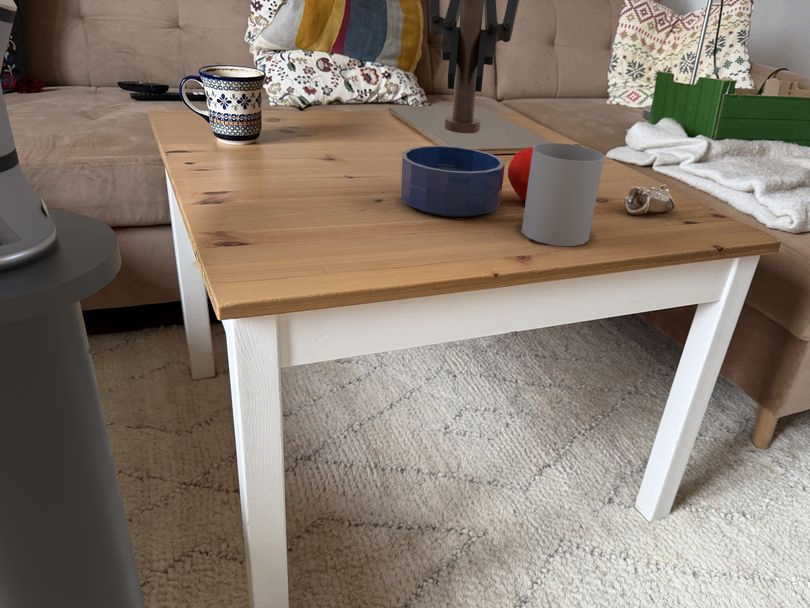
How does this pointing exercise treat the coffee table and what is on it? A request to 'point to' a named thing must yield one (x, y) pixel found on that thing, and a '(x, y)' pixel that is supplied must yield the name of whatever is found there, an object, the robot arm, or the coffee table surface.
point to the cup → (561, 193)
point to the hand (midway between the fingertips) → (464, 82)
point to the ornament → (648, 200)
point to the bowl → (451, 180)
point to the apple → (520, 172)
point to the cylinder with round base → (466, 69)
